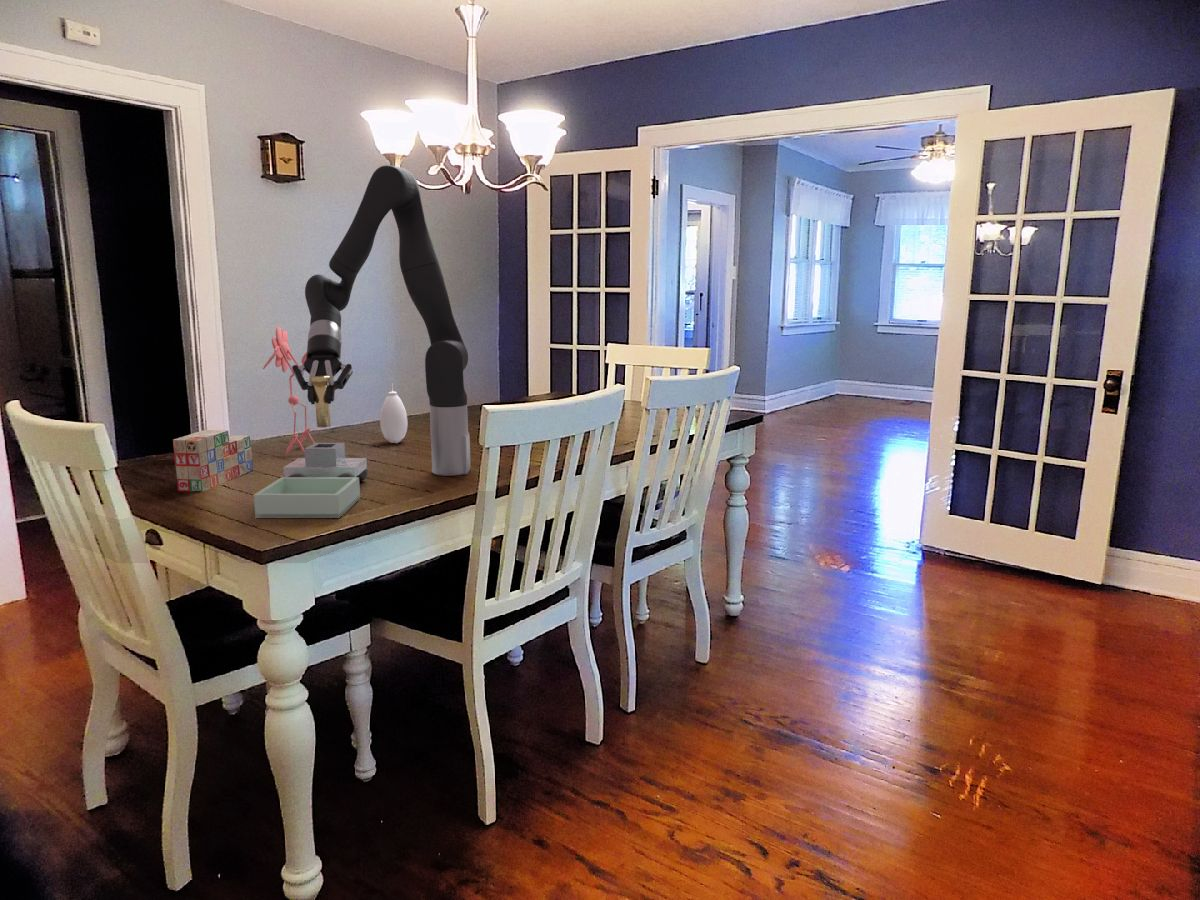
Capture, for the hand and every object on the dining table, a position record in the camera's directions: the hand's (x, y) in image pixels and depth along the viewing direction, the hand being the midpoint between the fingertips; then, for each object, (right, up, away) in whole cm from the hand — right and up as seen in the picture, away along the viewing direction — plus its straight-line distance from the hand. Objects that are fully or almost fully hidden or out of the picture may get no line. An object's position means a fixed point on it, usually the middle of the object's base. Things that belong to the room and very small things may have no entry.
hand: (320, 401), depth 183 cm
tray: (+2, -23, -12) cm, 26 cm away
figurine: (-25, -12, +46) cm, 54 cm away
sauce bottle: (+2, -9, +59) cm, 60 cm away
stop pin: (0, -5, +3) cm, 6 cm away
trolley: (0, -20, +6) cm, 21 cm away
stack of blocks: (-29, -19, +13) cm, 37 cm away
